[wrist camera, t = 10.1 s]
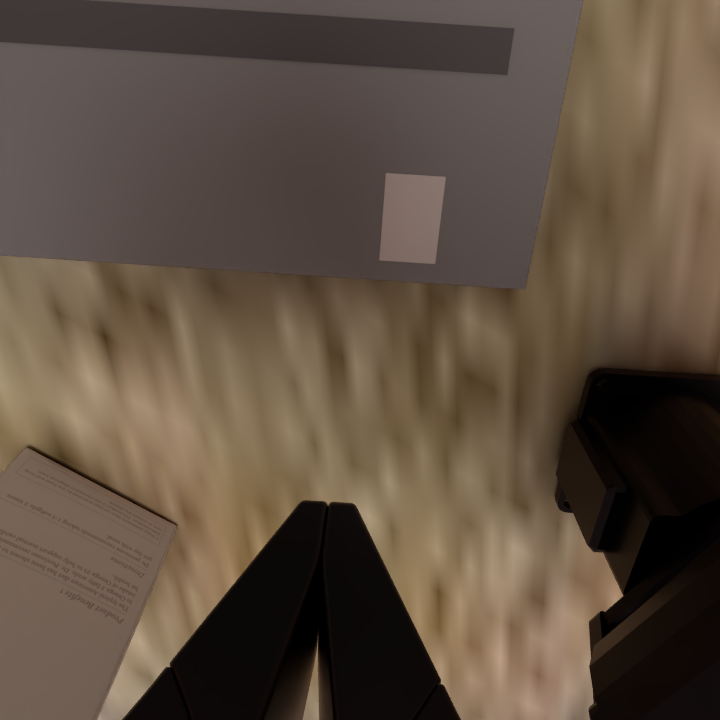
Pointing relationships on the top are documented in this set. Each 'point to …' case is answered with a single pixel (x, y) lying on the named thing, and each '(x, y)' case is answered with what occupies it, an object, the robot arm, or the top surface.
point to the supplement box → (69, 587)
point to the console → (283, 134)
